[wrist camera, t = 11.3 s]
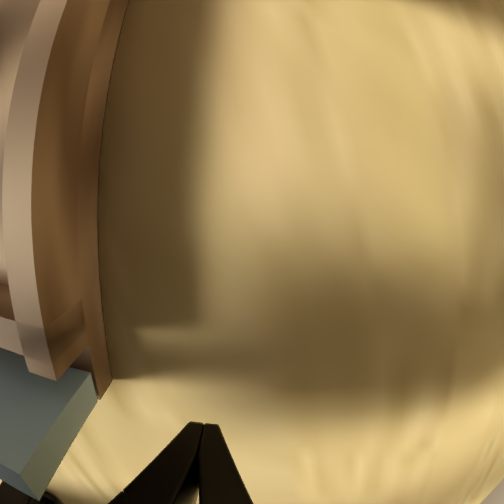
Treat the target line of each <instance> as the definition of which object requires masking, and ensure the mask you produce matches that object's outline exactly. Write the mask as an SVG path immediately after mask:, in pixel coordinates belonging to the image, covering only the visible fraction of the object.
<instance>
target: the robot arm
mask: <svg viewBox="0 0 504 504" xmlns="http://www.w3.org/2000/svg"><path fill="white" fill-rule="evenodd" d="M198 493H199V504H253V502H252V500H251V498H250V496H249V494H248V492H247V489H246V487H245V485H244V483H243V481H242V479H241V476H240V474H239V472H238V470H237V467H236V465H235V463H234V461H233V458H232V456H231V454H230V451H229V449H228V447H227V444H226V442H225V439H224V437H223V434H222V432H221V429H220V427H219V425H217V424H209V423H206V424H203V423H200V422H189V423H188V424H187V425H186V426H185V427H184V428H183V429H182V430H181V431H180V432H179V434H178V435H177V436H176V437H175V438H174V439H173V440H172V441H171V442H170V443H169V444H168V445H167V446H166V447H165V448H164V449H163V450H162V451H161V452H160V454H159V455H158V456H157V457H156V458H155V459H154V460H153V461H152V462H151V463H150V464H149V465H148V466H147V467H146V468H145V469H144V470H143V471H142V472H141V473H140V474H139V475H138V476H137V477H136V478H135V479H134V480H133V481H132V482H131V483H130V484H129V485H128V486H127V487H126V488H124V489H123V491H121V492H120V493H119V494H118V495H117V496H116V497H115V498H114V499H113V500H112V501H110V502H109V503H108V504H196V500H197V497H198ZM0 504H60V503H59V501H58V500H57V499H56V498H54V497H53V496H51V495H49V494H47V493H45V492H44V493H43V495H42V497H41V499H40V501H38V500H36V499H34V498H33V497H31V496H29V495H27V494H25V493H23V492H21V491H20V490H18V489H16V488H14V487H13V486H11V485H9V484H8V483H6V482H4V481H3V480H2V482H1V484H0Z"/></svg>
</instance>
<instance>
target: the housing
mask: <svg viewBox="0 0 504 504" xmlns="http://www.w3.org/2000/svg"><path fill="white" fill-rule="evenodd" d="M128 1H129V0H0V347H1V348H4V349H6V350H9V351H12V352H15V353H17V354H20V355H23V356H24V357H25V360H26V364H27V367H28V370H29V372H31V373H34V374H37V375H40V376H43V377H46V378H49V379H52V380H55V381H58V379H59V378H60V377H61V376H62V375H63V374H64V372H65V371H66V370H67V369H68V368H69V367H71V368H75V369H79V370H83V371H87V372H91V376H92V380H93V385H94V389H95V393H96V397H97V399H99V400H101V398H102V396H103V395H104V393H105V391H106V390H107V388H108V387H109V385H110V384H111V382H112V375H111V370H110V364H109V358H108V352H107V345H106V338H105V330H104V322H103V314H102V304H101V293H100V280H99V263H98V228H97V215H98V180H99V163H100V150H101V139H102V130H103V121H104V113H105V106H106V99H107V93H108V87H109V81H110V75H111V70H112V65H113V60H114V55H115V51H116V46H117V42H118V38H119V34H120V30H121V26H122V22H123V19H124V15H125V11H126V8H127V5H128Z"/></svg>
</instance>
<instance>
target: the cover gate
mask: <svg viewBox="0 0 504 504" xmlns="http://www.w3.org/2000/svg"><path fill="white" fill-rule="evenodd" d="M96 403H97V397H96V393H95V389H94V385H93V380H92V376H91V372H87V371H83V370H79V369H75V368H71V367H69V368H68V369H67V370H66V371H65V372H64V374H63V375H62V376H61V377H60V378H59V379H58V381H55V380H52V379H49V378H46V377H43V376H40V375H37V374H34V373H31V372H29V370H28V367H27V364H26V360H25V357H24V356H23V355H20V354H17V353H15V352H12V351H9V350H6V349H4V348H1V347H0V479H1V480H3V481H4V482H6V483H8V484H9V485H11V486H13V487H14V488H16V489H18V490H20V491H21V492H23V493H25V494H27V495H29V496H31V497H33V498H34V499H36V500H38V501H40V499H41V497H42V495H43V493H44V492H45V490H46V488H47V486H48V484H49V483H50V481H51V479H52V477H53V475H54V474H55V472H56V470H57V468H58V467H59V465H60V463H61V461H62V460H63V458H64V456H65V454H66V453H67V451H68V449H69V447H70V446H71V444H72V442H73V441H74V439H75V437H76V436H77V434H78V432H79V431H80V429H81V427H82V426H83V424H84V422H85V421H86V419H87V417H88V416H89V414H90V413H91V411H92V409H93V408H94V406H95V404H96Z"/></svg>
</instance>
